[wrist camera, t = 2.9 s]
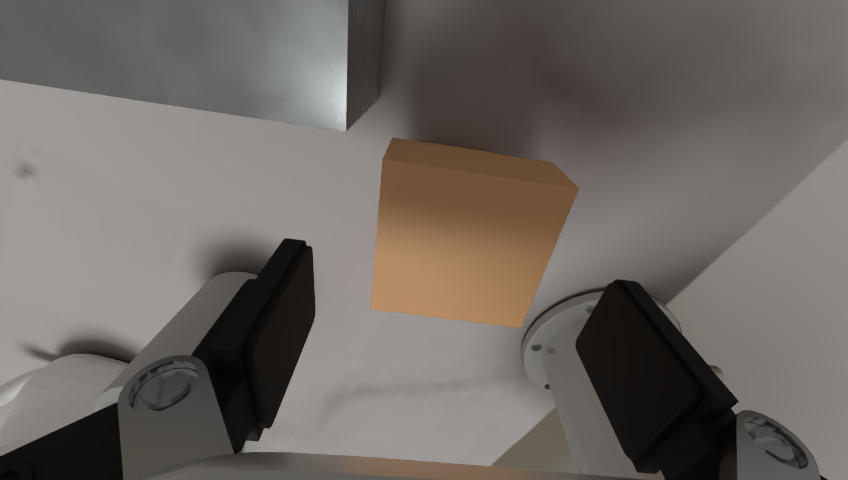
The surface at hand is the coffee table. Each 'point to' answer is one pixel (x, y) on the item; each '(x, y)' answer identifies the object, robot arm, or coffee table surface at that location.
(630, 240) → the coffee table surface
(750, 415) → the robot arm
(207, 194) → the coffee table surface
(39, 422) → the cat figurine
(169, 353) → the can
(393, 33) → the coffee table surface
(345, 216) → the coffee table surface
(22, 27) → the grey square socket block
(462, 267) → the tan cardboard box
